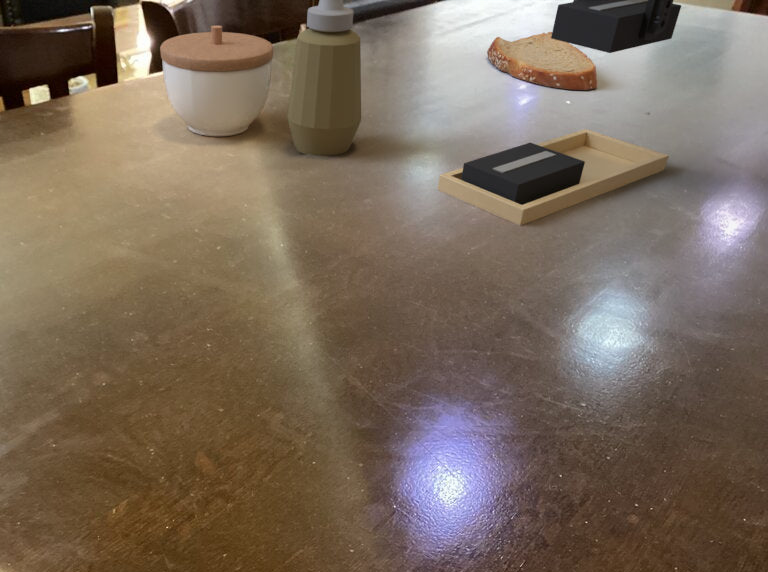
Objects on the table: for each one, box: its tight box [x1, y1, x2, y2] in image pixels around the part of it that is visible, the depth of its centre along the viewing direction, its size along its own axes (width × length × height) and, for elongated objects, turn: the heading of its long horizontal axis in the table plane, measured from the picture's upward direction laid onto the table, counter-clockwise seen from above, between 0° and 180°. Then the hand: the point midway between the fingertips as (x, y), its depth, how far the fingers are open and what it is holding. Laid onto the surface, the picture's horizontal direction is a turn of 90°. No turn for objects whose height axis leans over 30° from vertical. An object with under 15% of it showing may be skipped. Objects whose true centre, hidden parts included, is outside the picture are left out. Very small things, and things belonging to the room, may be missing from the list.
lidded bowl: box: [159, 25, 274, 137], centre depth 93 cm, size 13×13×11 cm
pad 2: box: [551, 0, 682, 54], centre depth 77 cm, size 10×6×3 cm, turn 126°
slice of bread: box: [486, 31, 598, 91], centre depth 117 cm, size 18×18×4 cm
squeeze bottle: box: [286, 0, 362, 157], centre depth 85 cm, size 8×8×18 cm
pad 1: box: [461, 142, 585, 205], centre depth 79 cm, size 10×6×3 cm, turn 127°
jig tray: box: [437, 128, 670, 226], centre depth 82 cm, size 24×10×2 cm, turn 127°
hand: (613, 30), depth 77 cm, fingers closed on pad 2, 6 cm apart
